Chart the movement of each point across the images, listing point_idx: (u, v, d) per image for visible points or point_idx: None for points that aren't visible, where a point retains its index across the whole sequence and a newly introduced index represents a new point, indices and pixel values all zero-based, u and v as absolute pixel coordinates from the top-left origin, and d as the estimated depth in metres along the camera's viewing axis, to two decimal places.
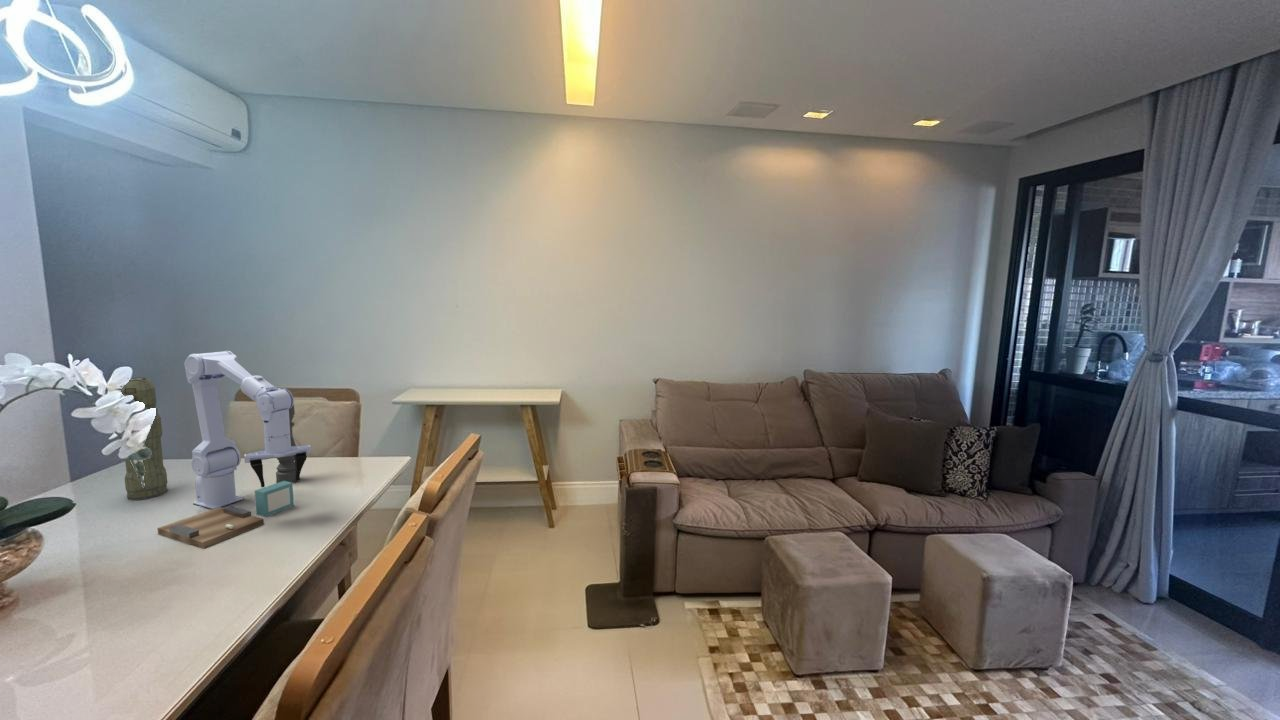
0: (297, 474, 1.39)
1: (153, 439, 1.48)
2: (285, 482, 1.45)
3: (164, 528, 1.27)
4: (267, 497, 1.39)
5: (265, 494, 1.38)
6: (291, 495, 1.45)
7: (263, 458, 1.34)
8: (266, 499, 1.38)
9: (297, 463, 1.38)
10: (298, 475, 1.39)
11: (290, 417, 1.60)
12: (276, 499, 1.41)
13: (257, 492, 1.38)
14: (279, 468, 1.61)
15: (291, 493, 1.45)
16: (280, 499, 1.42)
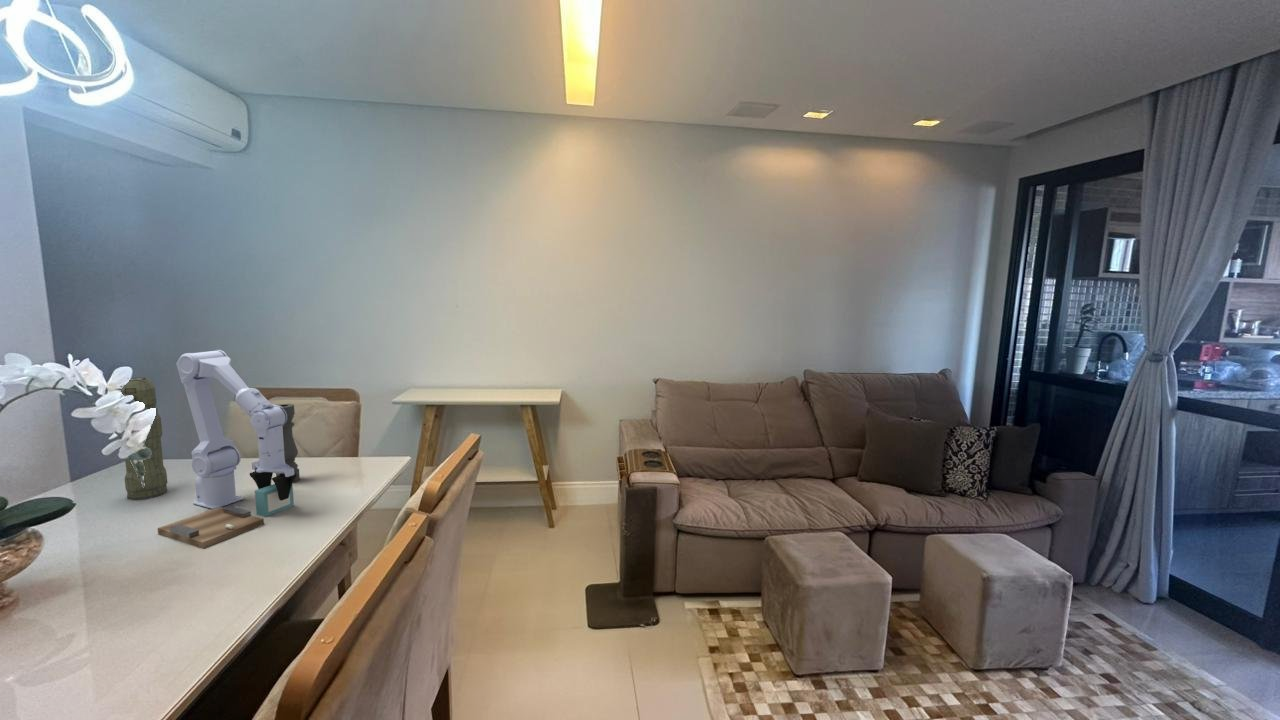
0: (278, 494, 1.39)
1: (153, 439, 1.48)
2: None
3: (164, 528, 1.27)
4: (267, 497, 1.39)
5: (265, 494, 1.38)
6: (291, 495, 1.45)
7: None
8: (266, 499, 1.38)
9: (275, 483, 1.38)
10: (279, 495, 1.39)
11: (290, 417, 1.60)
12: (276, 499, 1.41)
13: (257, 492, 1.38)
14: None
15: (291, 493, 1.45)
16: None
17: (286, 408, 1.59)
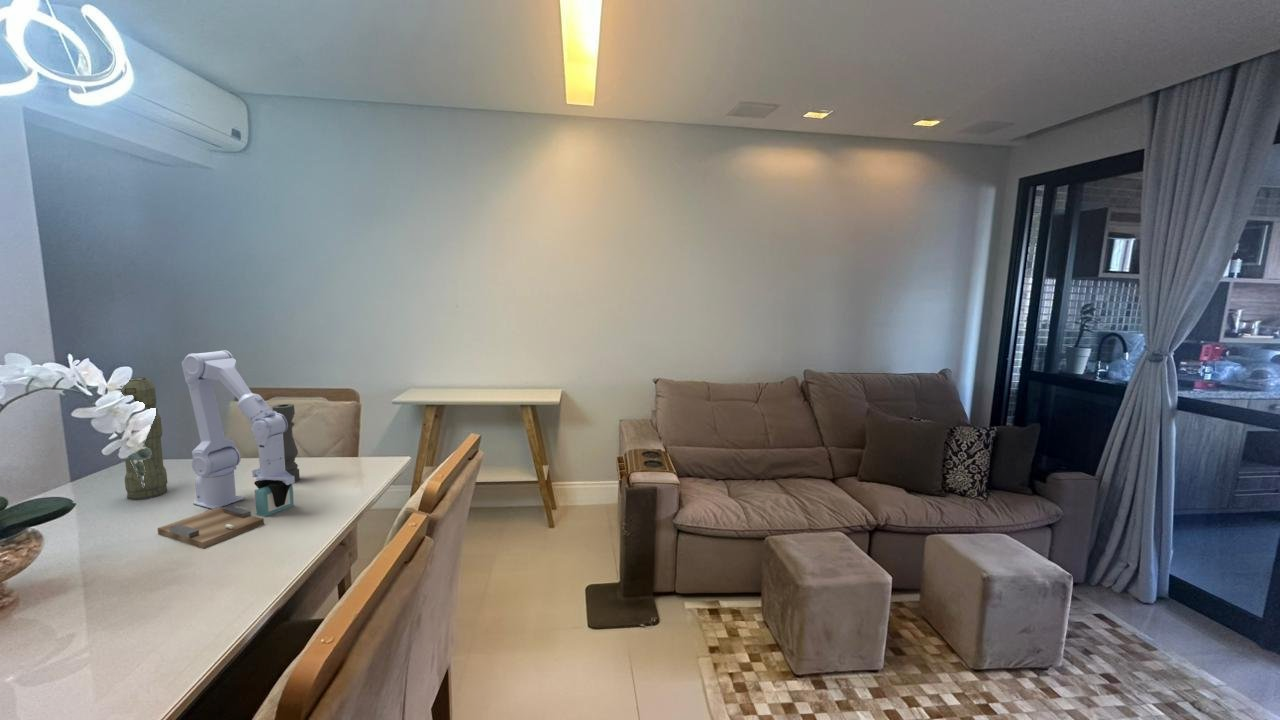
0: (274, 500, 1.40)
1: (153, 439, 1.48)
2: None
3: (164, 528, 1.27)
4: (267, 497, 1.39)
5: (265, 493, 1.38)
6: (291, 495, 1.45)
7: None
8: (266, 498, 1.38)
9: (271, 490, 1.39)
10: (275, 502, 1.40)
11: (290, 417, 1.60)
12: None
13: (257, 492, 1.38)
14: None
15: (291, 493, 1.45)
16: None
17: (286, 408, 1.59)
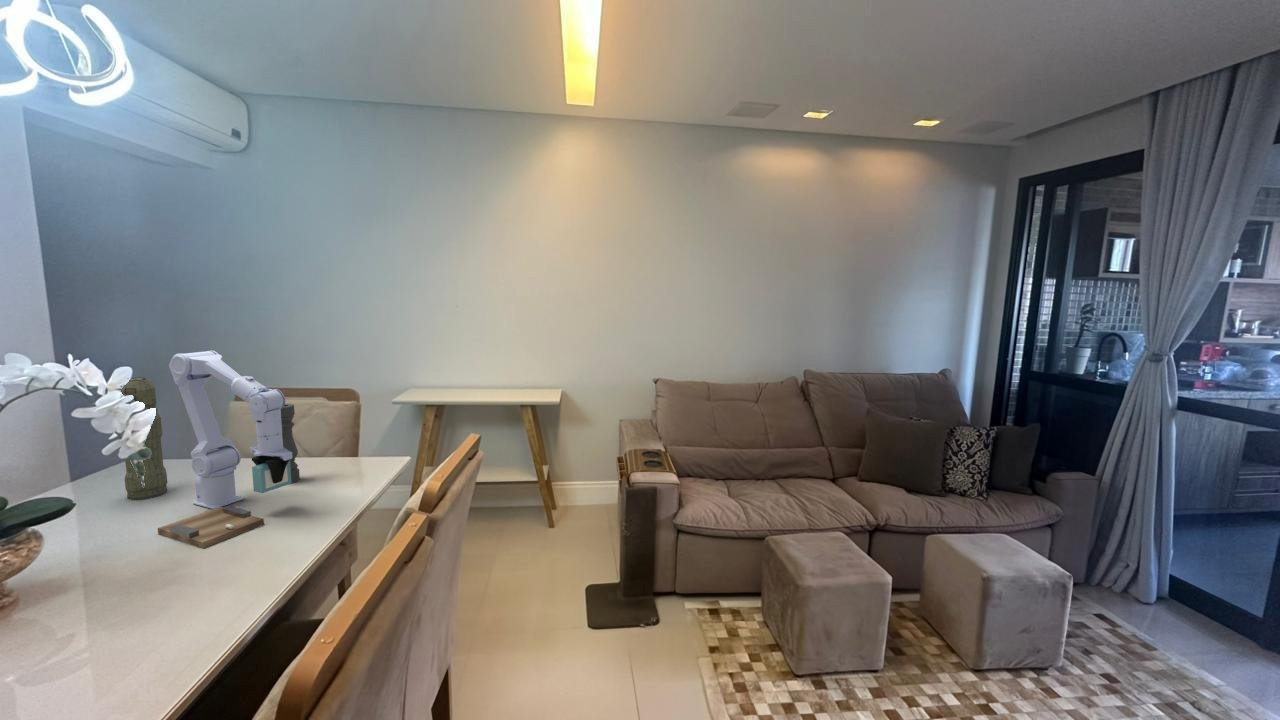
0: (272, 476, 1.39)
1: (153, 439, 1.48)
2: None
3: (164, 528, 1.27)
4: (265, 474, 1.38)
5: (263, 470, 1.37)
6: (289, 472, 1.44)
7: None
8: (263, 475, 1.37)
9: (268, 466, 1.38)
10: (272, 478, 1.39)
11: (290, 417, 1.60)
12: None
13: (254, 468, 1.37)
14: None
15: (289, 470, 1.44)
16: None
17: (286, 408, 1.59)
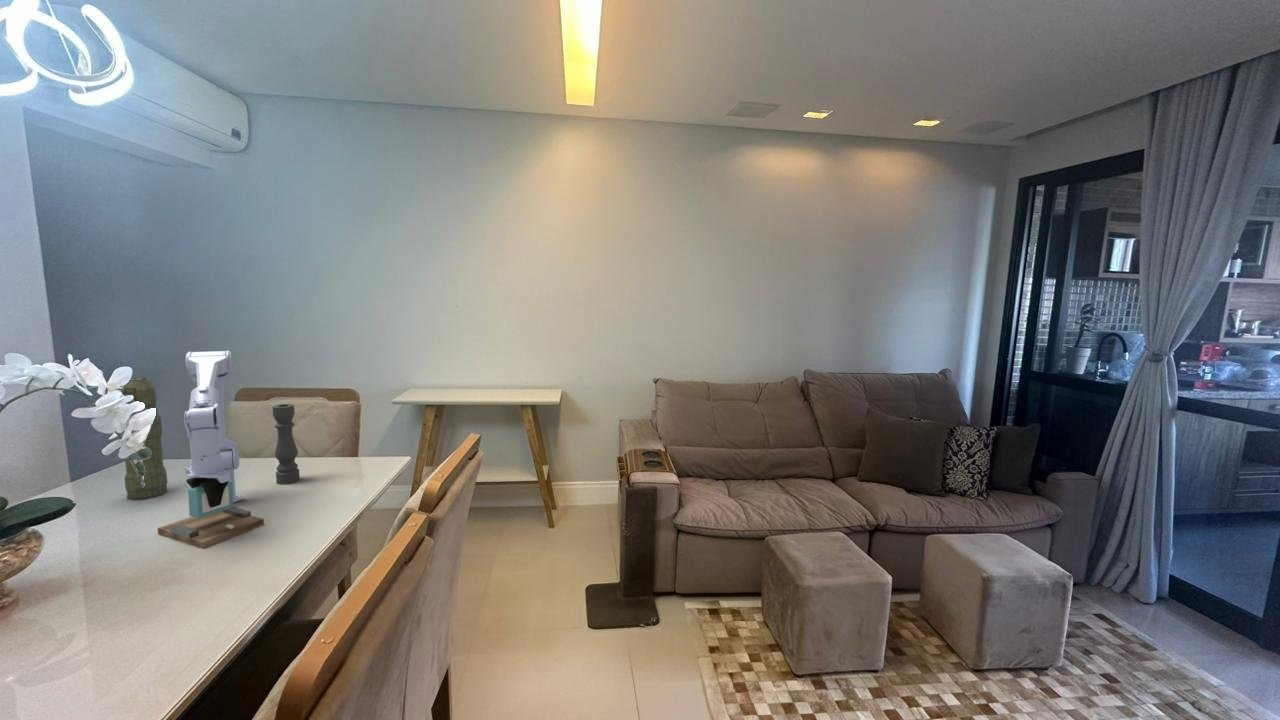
0: (208, 500, 1.28)
1: (153, 439, 1.48)
2: None
3: (164, 528, 1.27)
4: (202, 497, 1.27)
5: (200, 493, 1.26)
6: (230, 495, 1.33)
7: None
8: (200, 498, 1.26)
9: (204, 488, 1.26)
10: (209, 501, 1.28)
11: (290, 417, 1.60)
12: None
13: (190, 491, 1.26)
14: (279, 468, 1.61)
15: (231, 493, 1.33)
16: None
17: (286, 408, 1.59)
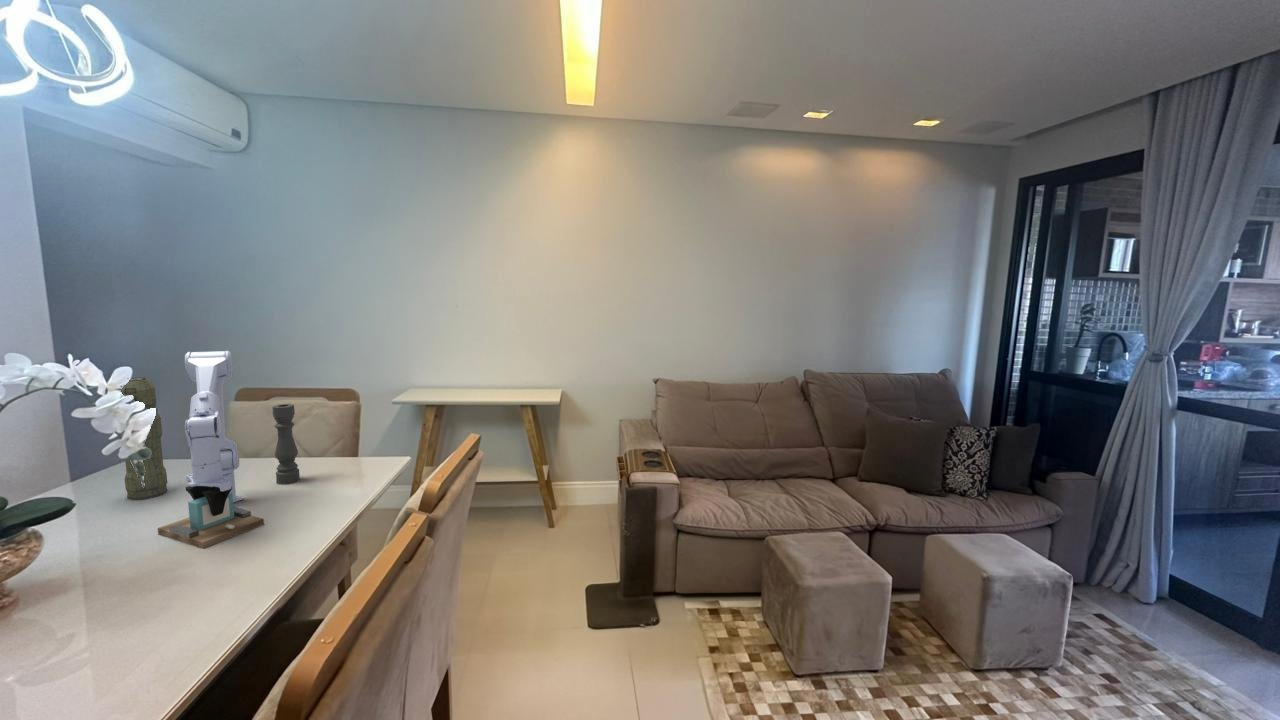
0: (210, 509, 1.28)
1: (153, 439, 1.48)
2: None
3: (164, 528, 1.27)
4: (202, 509, 1.27)
5: (200, 505, 1.26)
6: (231, 506, 1.33)
7: None
8: (200, 511, 1.26)
9: (206, 497, 1.27)
10: (211, 510, 1.28)
11: (290, 417, 1.60)
12: None
13: (190, 503, 1.26)
14: (279, 468, 1.61)
15: (231, 504, 1.33)
16: None
17: (286, 408, 1.59)
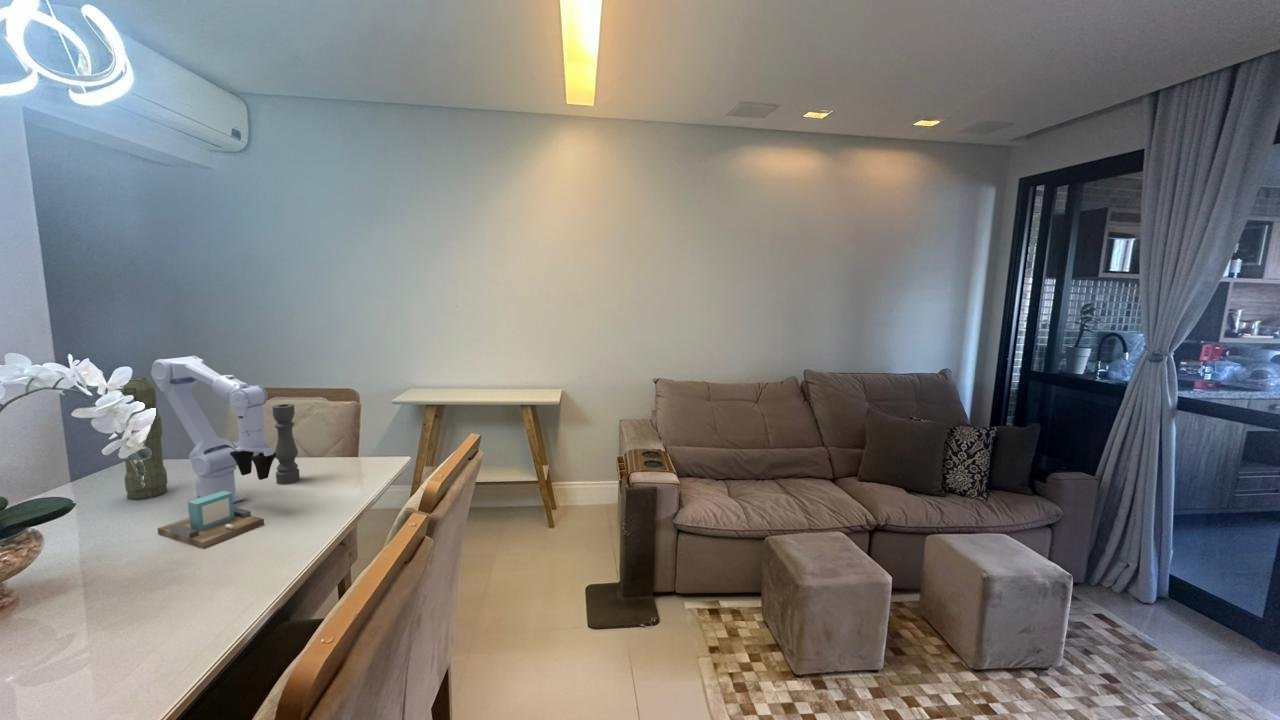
0: (257, 473, 1.40)
1: (153, 439, 1.48)
2: (224, 492, 1.33)
3: (164, 528, 1.27)
4: (202, 509, 1.27)
5: (200, 505, 1.26)
6: (231, 506, 1.33)
7: None
8: (200, 511, 1.26)
9: (254, 462, 1.38)
10: (258, 474, 1.40)
11: (290, 417, 1.60)
12: (212, 511, 1.29)
13: (190, 503, 1.26)
14: (279, 468, 1.61)
15: (231, 504, 1.33)
16: (218, 510, 1.30)
17: (286, 408, 1.59)
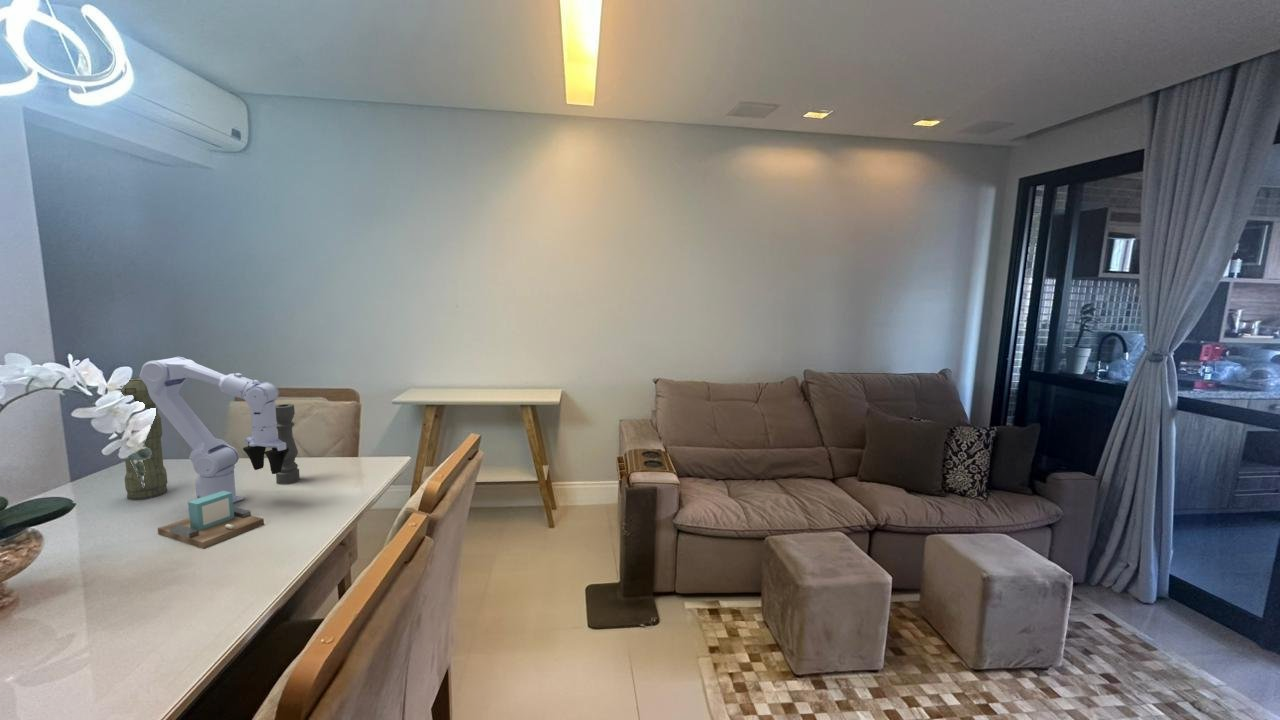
0: (270, 467, 1.44)
1: (153, 439, 1.48)
2: (224, 492, 1.33)
3: (164, 528, 1.27)
4: (202, 509, 1.27)
5: (200, 505, 1.26)
6: (231, 506, 1.33)
7: None
8: (200, 511, 1.26)
9: (267, 457, 1.43)
10: (271, 468, 1.44)
11: (290, 417, 1.60)
12: (212, 511, 1.29)
13: (190, 503, 1.26)
14: None
15: (231, 504, 1.33)
16: (218, 510, 1.30)
17: (286, 408, 1.59)
